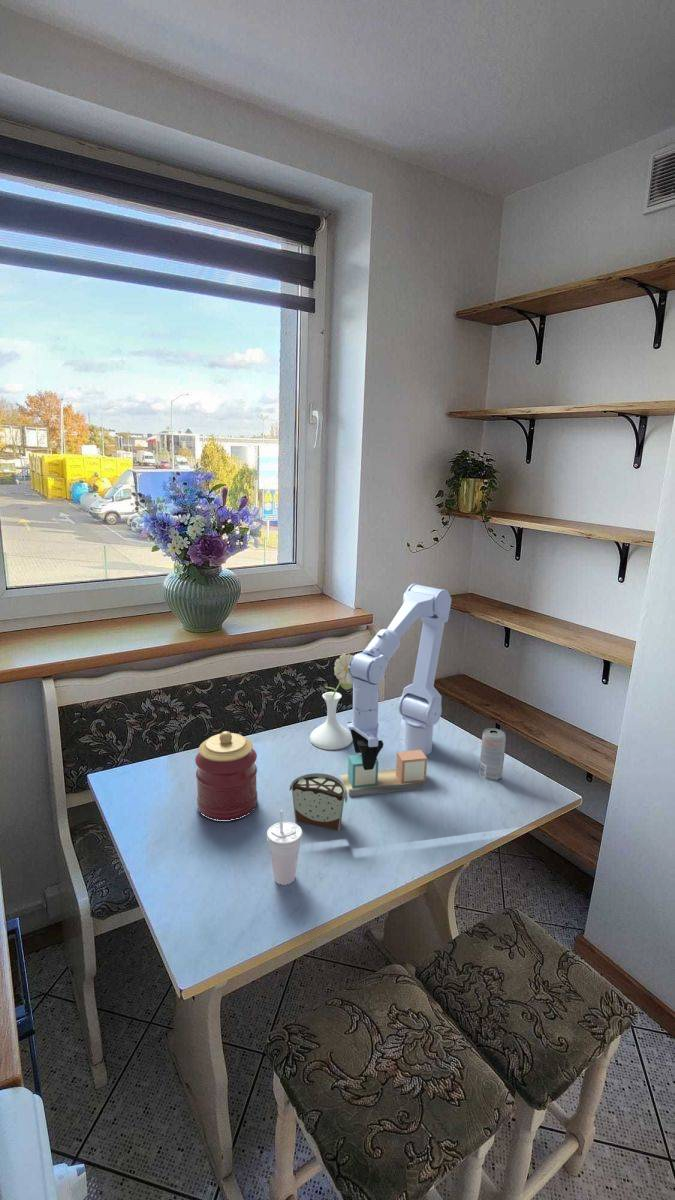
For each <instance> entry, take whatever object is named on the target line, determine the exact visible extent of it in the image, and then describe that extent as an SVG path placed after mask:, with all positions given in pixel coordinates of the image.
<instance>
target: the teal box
mask: <svg viewBox="0 0 675 1200" xmlns="http://www.w3.org/2000/svg"><path fill="white" fill-rule="evenodd" d="M377 758H378V757H377ZM377 758H376V762H375V765H374V768H373V769H371V770H364V768H363V763H362V755H361V753H359V754H352V755H348V759H347V760H348V761H347V774H348V780H349V782H350V784H351V786H352V788H358V787H366V786H375V785H378V771H379V760H378V759H377Z"/></svg>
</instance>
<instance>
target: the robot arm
mask: <svg viewBox="0 0 675 1200" xmlns="http://www.w3.org/2000/svg"><path fill="white" fill-rule="evenodd" d="M451 605H452V596H451V594H450V593H449V591H448V590H447V589H444V588H436V587H431V586H426V585H423V584H422V585H420V584H417V583H411V584H410V585H408V587H407V589H406V590H405V592H404V593H403V597H402V604H401V607H400V608H399V610H398V611H397V613H396V615H395V616H394V618H393V619H392V620H391V622H390V624H389V625H388V626H387V628H383V629H379V631H378V632H377V633H376V634H375V636H374V637H373V638H372V639H371V641H370V642H369V643H368V644H367V645H366V647H365V649H364V650H362V652H359V653H356V654H354V655H352V656H353V657H352V659H351V660H350V663H349V667H348V673H349V675H350V676H351V683H352V684H353V688H352V719H351V721H348V722H347V724H346V727H347V730H348V731H349V732H350V733H351V735H352V739H353V740H352V743H353V750H354V753H355V754H361V755H362V763H363V768H364V770H371V769H373V768H374V765H375V762H376V758H378V755H379V753H380V752H381V750H382V749H383V747H384V742H383V740H382V739H381V740H380V739H379V737H378V734H379V694H380V691H379V690H380V682H381V680H382V679H383V678H384V676H385V675H386V674H385V673H386V669H387V667H388V666H389V665H388V664H389V661H390V659H391V658H392V656H393V655H394V654H395V653H396V651H397V650H398V648H399V647H400V646H401V642H400V641H401V640H400V638H401V636H403V634H405V632H406V631H408V630H409V628H410V627H411V626H412V624H414V622H415V621H417V619H418V618H419V619H420V620H421V622H422V628H421V633H420V640H419V646H418V652H417V656H416V663H415V667H414V669H415V670H414V675H413V679H412V683H411V684H408V685H406V686H405V687H403V691H402V694H401V696H400V698H399V700H398V705H397V708H398V713H399V714H400V715H401V716H402V719H401V721H400V732H399V733H400V735H399V741H400V743H401V744H402V747H403V751H413V750H422V752H423V753H424V754H425V756H428V755H430V754H431V753H432V749H433V735H434V734H433V733H434V726H435V725H436V724H437V723H438V722H439V720H440V718H441V715H442V711H443V709H442V699H443V698H442V695H441V694H440V693H439V691H438V690H437V689H436V688H435V686H434V684H435V678H436V675H437V668H438V661H439V657H440V652H441V651H440V650H441V645H442V639H443V633H444V628H445V623H448V621H449V616H450V613H451V612H450V611H451Z"/></svg>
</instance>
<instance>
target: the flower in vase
mask: <svg viewBox="0 0 675 1200" xmlns="http://www.w3.org/2000/svg"><path fill="white" fill-rule="evenodd" d="M353 656H354V655H352V654H350V653H348V654H345V653H343V654H342V655H340V656H339V658H337V659H336V660H335V662H334V667H333V669H334V673H333V674H334V676H336V679H337V680H338V685H337V686H336V688H335V687H330V686H327V685H326V684H323V686H324V688H325V689H330V690H333V691H328V692H325V693H323V694H322V698H323V700H324V701H325V703H326V709H327V712H326V713H327V717H326V721H324V723H322V724H321V725H318V727H316V728H314V730H312V731H311V733H310V735H309V741H310V743H311V744H312V745H313V746H315V747H316V748H318V749H321V750H322V749H323V750H326V751H337V750H341V749H344V748H347V747H349V746H350V745H351V743H353V739H352V735H351V732H350V730H349V729H348V728H346V727H345V726H343V725H342V724H340V723H339V722H338V719H337V708H338V703H339V701H340V700H341V698H342V694H341V693H340V692H337V691H338V689H339V687H341V688H342V689H344V690H346V691H347V690H351V689H353V684H352V683H351V676H350V675H349V673H348V667H349V663H350V660H351V659H352V657H353Z"/></svg>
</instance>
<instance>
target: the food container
mask: <svg viewBox="0 0 675 1200" xmlns="http://www.w3.org/2000/svg"><path fill="white" fill-rule="evenodd" d="M289 791H291V793H292V804H293V811H294V812H293V814H294V821H295V822H299V823H303V824H308V825H312V826H316V827H321V828H325V829H329V830H333V831H334V830H335V831H337V832H339V831H340V829H341V826H342V817H343V810H344V804H347V802H348V799H349V798H348V797H349V796H348V792H347V790H346V788H345V785H344V783H343V781H342V779H339V778H338V777H336V776H335V775H332V774H327V773H321V772H313V773H312V772H311V773H306V774H303V775H300V776H297V777H296V778H295V779H293V780H292V781H291V784H290V785H289Z"/></svg>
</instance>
